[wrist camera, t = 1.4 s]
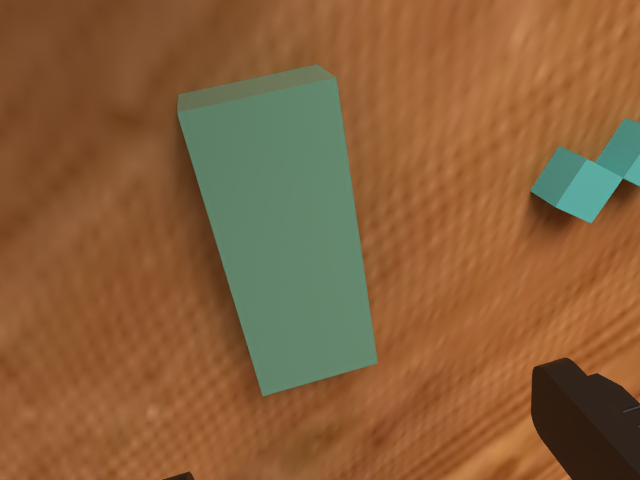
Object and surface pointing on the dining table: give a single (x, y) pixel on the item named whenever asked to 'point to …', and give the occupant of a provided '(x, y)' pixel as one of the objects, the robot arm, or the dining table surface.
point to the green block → (284, 221)
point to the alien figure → (591, 174)
